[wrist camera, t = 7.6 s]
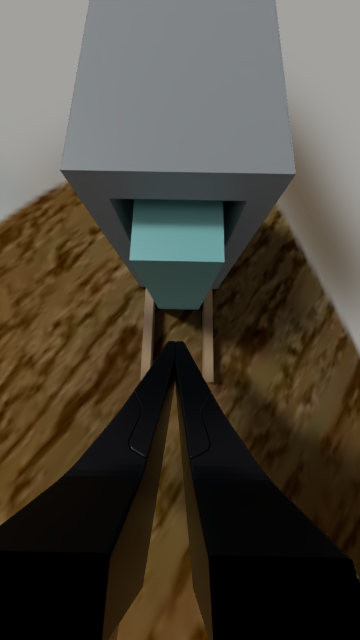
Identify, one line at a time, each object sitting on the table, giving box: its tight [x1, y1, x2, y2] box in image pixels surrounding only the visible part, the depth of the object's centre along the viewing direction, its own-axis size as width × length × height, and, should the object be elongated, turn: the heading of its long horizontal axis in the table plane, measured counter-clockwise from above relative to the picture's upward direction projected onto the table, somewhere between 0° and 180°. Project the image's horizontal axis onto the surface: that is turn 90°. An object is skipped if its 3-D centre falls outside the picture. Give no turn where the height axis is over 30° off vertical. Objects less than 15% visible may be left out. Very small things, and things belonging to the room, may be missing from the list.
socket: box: [60, 0, 296, 289], centre depth 11 cm, size 10×8×11 cm
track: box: [140, 286, 214, 382], centre depth 15 cm, size 9×6×1 cm
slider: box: [129, 199, 225, 310], centre depth 11 cm, size 8×4×9 cm, turn 179°
